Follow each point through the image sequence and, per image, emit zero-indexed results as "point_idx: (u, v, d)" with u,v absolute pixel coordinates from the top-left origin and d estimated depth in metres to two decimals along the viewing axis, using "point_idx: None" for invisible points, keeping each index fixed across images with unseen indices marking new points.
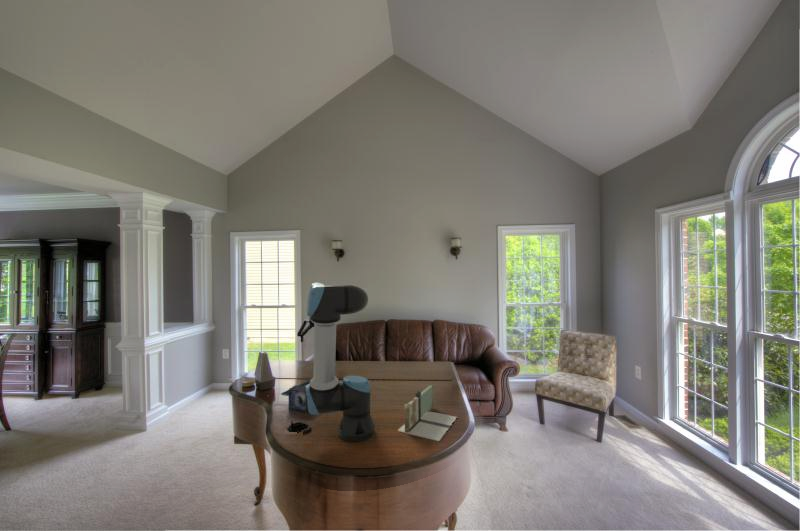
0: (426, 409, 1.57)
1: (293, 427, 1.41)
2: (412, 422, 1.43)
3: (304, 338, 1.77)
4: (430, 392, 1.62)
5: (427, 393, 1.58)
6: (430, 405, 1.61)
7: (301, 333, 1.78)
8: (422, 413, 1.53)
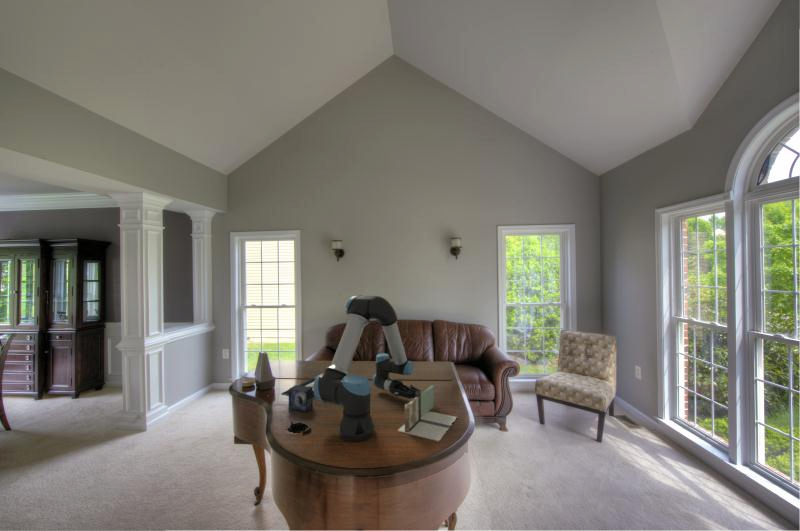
0: (427, 409, 1.57)
1: (293, 427, 1.41)
2: (412, 422, 1.43)
3: None
4: (431, 392, 1.61)
5: (428, 393, 1.58)
6: (431, 405, 1.61)
7: (412, 397, 1.64)
8: (422, 413, 1.52)
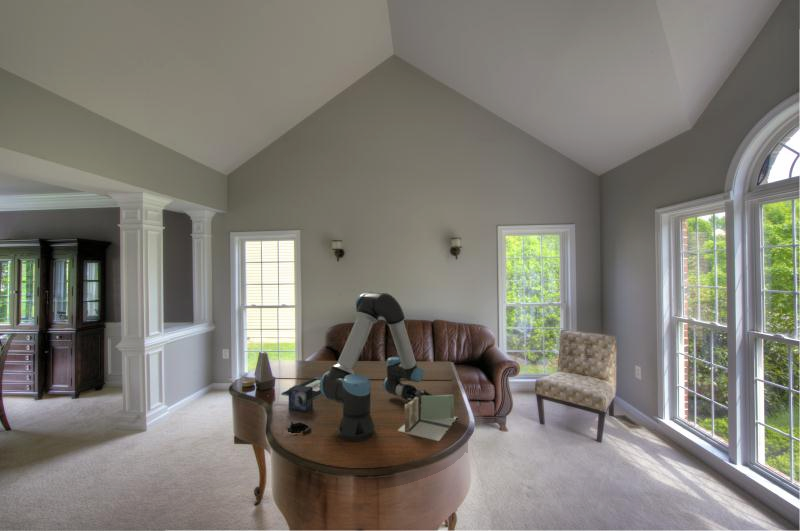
0: (435, 415, 1.50)
1: (293, 427, 1.41)
2: (412, 422, 1.43)
3: None
4: (446, 401, 1.50)
5: (438, 399, 1.50)
6: (446, 415, 1.50)
7: None
8: (425, 416, 1.50)
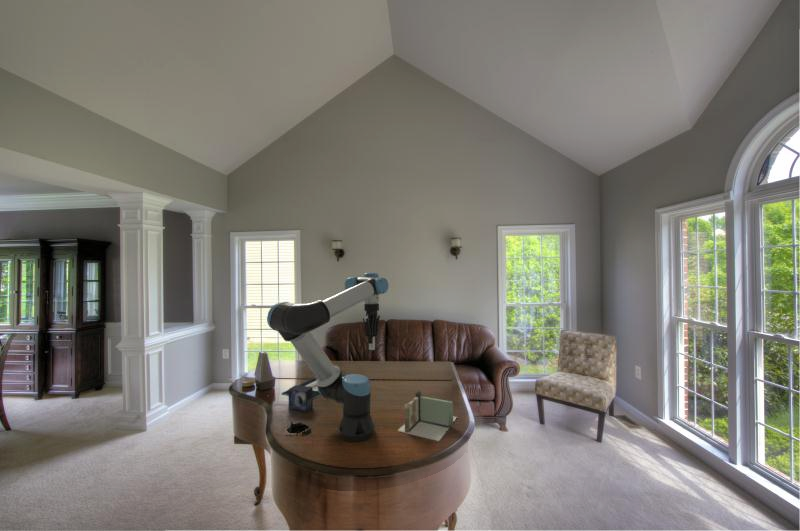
0: (434, 419, 1.46)
1: (293, 428, 1.41)
2: (412, 422, 1.43)
3: None
4: (445, 407, 1.44)
5: (436, 404, 1.46)
6: (445, 421, 1.44)
7: None
8: (423, 417, 1.48)
